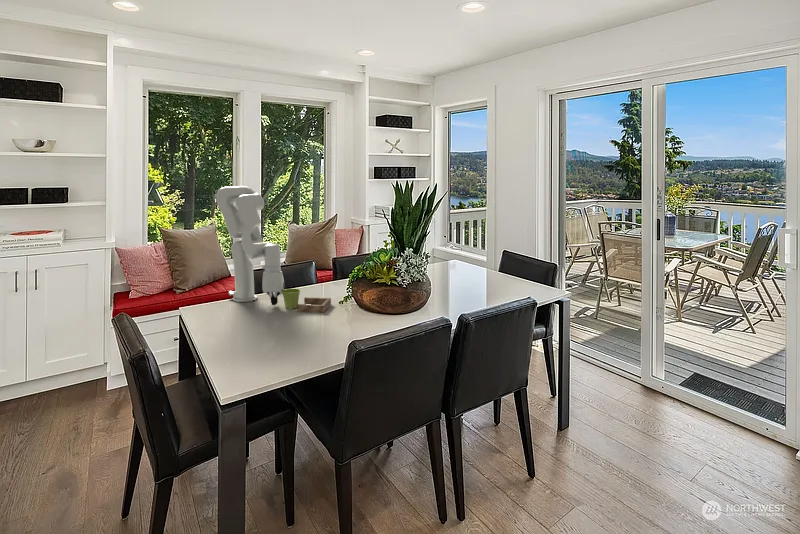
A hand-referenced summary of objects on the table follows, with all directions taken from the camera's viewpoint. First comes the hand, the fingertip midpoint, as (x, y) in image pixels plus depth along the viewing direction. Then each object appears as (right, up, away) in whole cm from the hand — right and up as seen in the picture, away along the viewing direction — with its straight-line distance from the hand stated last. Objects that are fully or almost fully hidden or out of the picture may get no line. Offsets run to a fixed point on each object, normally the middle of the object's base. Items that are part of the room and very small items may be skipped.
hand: (274, 304), depth 244 cm
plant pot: (+9, -2, 0) cm, 9 cm away
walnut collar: (+20, -2, -1) cm, 20 cm away
